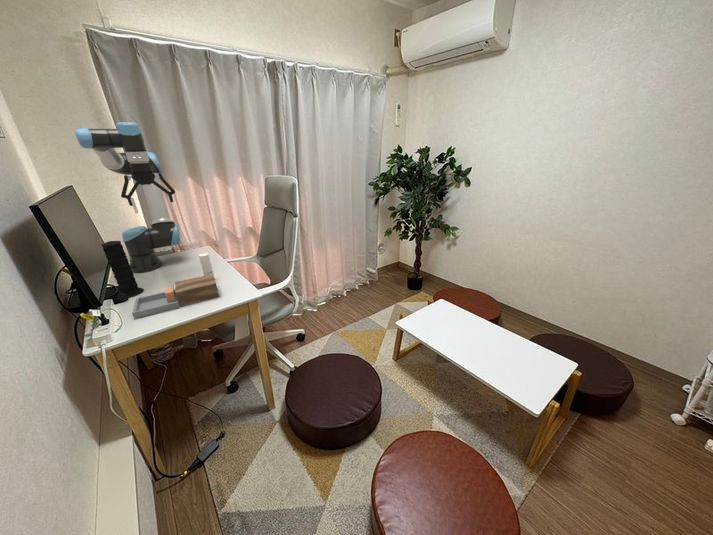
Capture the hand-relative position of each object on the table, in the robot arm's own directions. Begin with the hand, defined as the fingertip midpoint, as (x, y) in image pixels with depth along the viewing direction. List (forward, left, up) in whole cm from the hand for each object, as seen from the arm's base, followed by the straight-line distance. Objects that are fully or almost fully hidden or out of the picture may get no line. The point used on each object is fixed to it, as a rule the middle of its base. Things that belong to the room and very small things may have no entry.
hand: (154, 211), depth 128 cm
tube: (+10, +15, -37) cm, 41 cm away
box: (+24, -7, -37) cm, 44 cm away
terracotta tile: (+24, 0, -33) cm, 41 cm away
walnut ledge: (+24, +9, -37) cm, 45 cm away
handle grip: (+3, -19, -37) cm, 42 cm away
